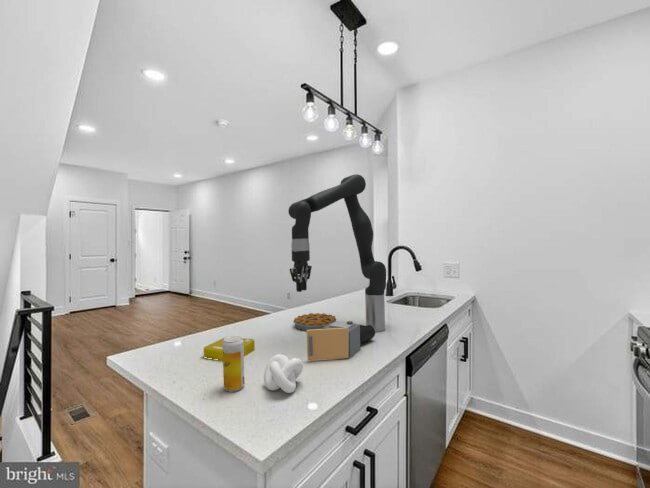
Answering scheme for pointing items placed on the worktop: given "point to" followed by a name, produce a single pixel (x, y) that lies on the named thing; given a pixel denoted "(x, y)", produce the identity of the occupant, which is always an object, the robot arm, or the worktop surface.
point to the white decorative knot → (282, 373)
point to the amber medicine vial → (233, 363)
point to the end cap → (366, 333)
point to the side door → (328, 343)
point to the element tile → (217, 348)
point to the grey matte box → (353, 334)
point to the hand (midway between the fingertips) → (301, 290)
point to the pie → (313, 321)
